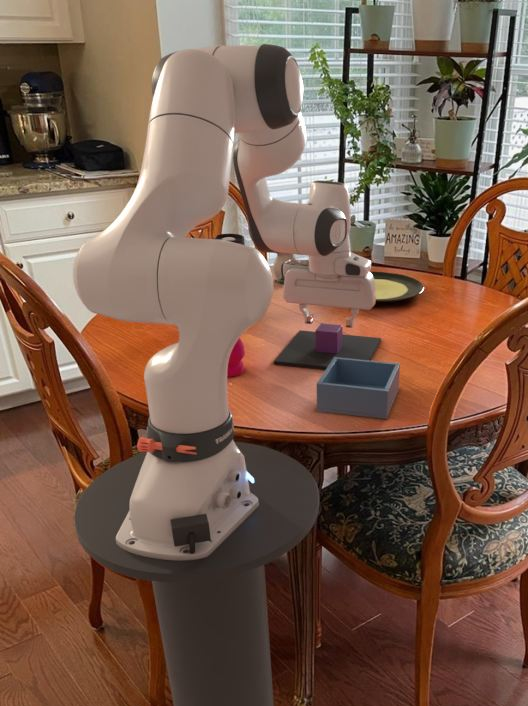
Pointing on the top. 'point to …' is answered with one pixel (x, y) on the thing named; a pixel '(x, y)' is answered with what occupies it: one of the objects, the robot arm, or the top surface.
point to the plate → (395, 287)
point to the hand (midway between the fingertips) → (329, 325)
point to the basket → (358, 387)
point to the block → (328, 338)
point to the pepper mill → (236, 360)
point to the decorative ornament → (281, 265)
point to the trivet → (305, 354)
